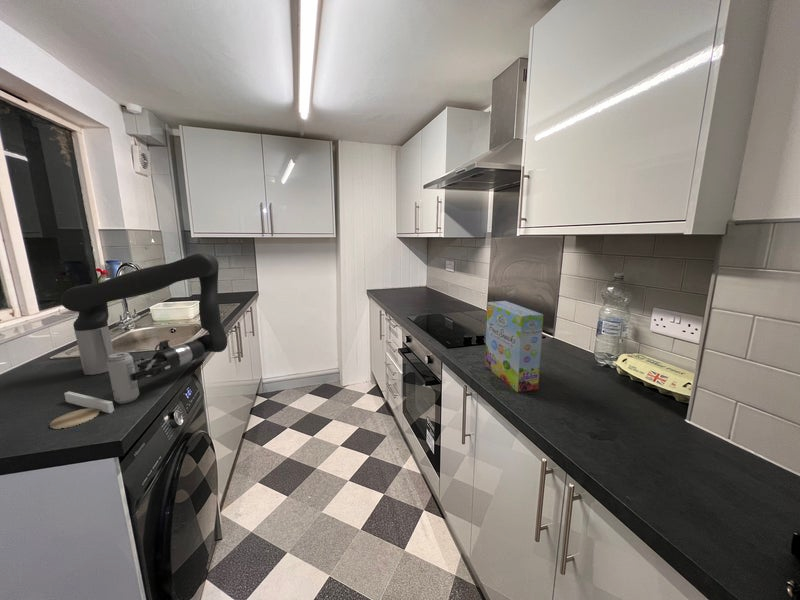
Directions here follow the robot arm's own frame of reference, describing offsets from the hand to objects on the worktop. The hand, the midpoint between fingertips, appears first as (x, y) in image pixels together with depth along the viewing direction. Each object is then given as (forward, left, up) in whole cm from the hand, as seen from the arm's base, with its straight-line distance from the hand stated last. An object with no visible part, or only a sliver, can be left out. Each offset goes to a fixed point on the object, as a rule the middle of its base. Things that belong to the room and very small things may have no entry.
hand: (122, 376), depth 99 cm
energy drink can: (0, 0, -8) cm, 8 cm away
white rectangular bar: (-7, -6, -8) cm, 12 cm away
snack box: (+114, +53, -8) cm, 126 cm away
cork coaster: (-2, -12, -8) cm, 14 cm away
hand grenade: (-16, +24, -8) cm, 30 cm away
